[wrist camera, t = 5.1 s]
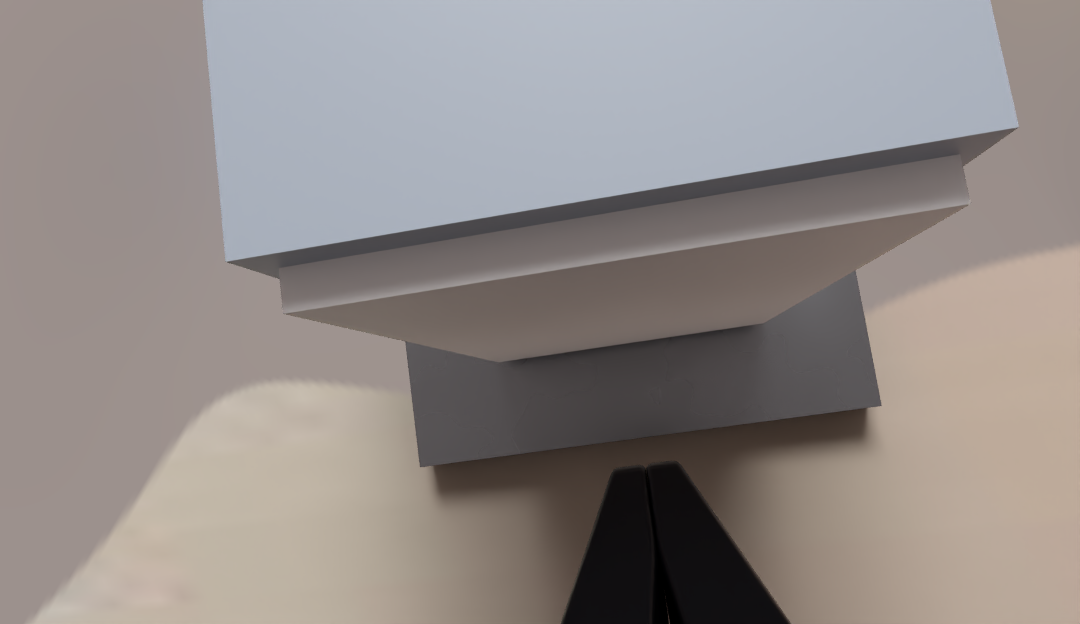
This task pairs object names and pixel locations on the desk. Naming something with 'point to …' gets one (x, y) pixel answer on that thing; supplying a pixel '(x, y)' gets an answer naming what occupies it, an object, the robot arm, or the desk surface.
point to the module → (587, 157)
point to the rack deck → (646, 384)
